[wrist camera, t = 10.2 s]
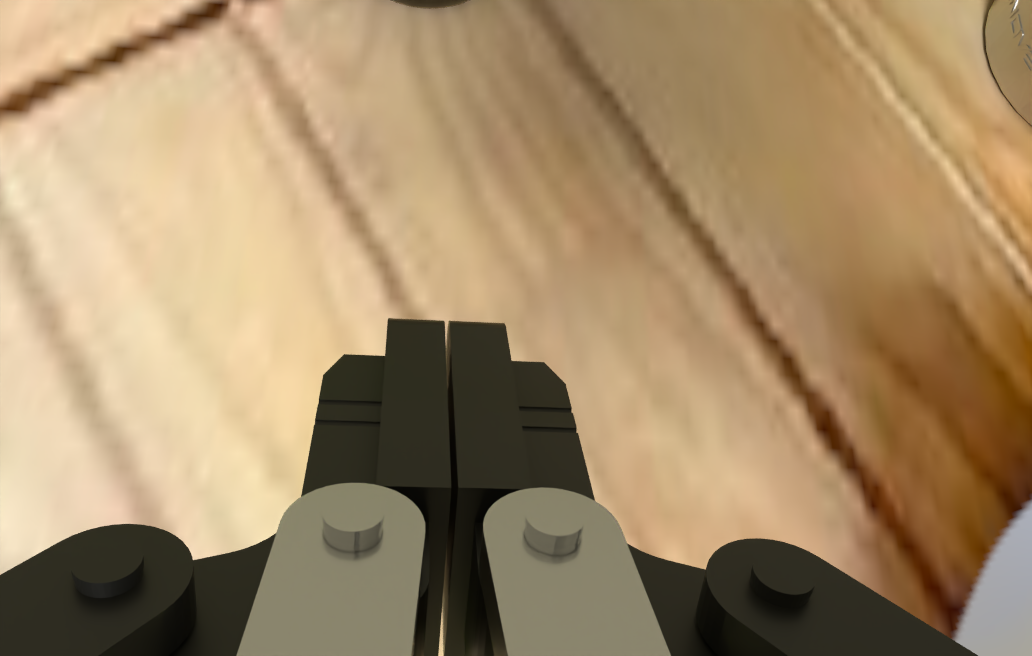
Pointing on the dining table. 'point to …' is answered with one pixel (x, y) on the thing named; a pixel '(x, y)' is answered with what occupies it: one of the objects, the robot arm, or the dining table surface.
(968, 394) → the dining table surface
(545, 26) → the dining table surface
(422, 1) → the supplement bottle
